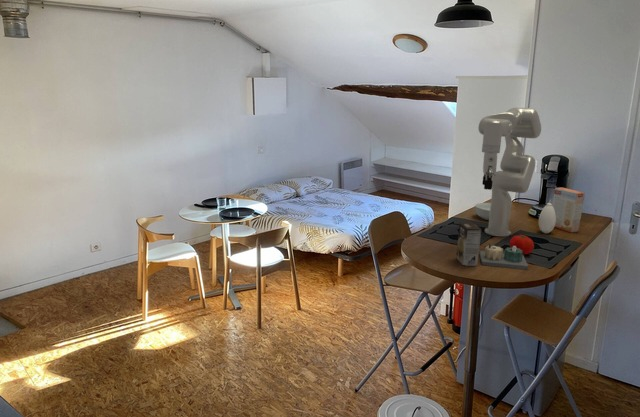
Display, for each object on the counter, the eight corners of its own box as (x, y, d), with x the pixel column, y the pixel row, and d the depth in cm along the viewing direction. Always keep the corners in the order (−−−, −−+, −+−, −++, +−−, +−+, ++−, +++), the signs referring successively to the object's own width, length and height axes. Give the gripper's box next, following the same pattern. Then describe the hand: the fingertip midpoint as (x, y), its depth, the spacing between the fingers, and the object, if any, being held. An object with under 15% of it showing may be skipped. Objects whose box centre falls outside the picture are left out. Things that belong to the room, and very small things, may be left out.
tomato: (512, 248, 229) (514, 230, 227) (535, 253, 223) (538, 235, 221) (505, 253, 222) (507, 235, 220) (529, 259, 216) (531, 240, 214)
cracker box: (579, 232, 257) (585, 192, 251) (570, 233, 254) (576, 193, 249) (557, 224, 269) (563, 186, 264) (549, 225, 267) (554, 187, 262)
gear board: (479, 253, 221) (481, 238, 219) (522, 257, 217) (524, 242, 215) (481, 264, 208) (483, 248, 206) (527, 269, 204) (529, 252, 202)
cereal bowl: (473, 221, 273) (474, 208, 271) (473, 213, 288) (474, 201, 286) (506, 224, 268) (507, 211, 266) (504, 216, 283) (506, 204, 281)
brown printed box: (455, 258, 215) (458, 222, 211) (470, 258, 216) (473, 222, 212) (462, 265, 207) (466, 228, 202) (477, 265, 207) (481, 228, 203)
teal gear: (520, 257, 214) (521, 248, 213) (523, 262, 207) (524, 253, 206) (503, 255, 215) (504, 246, 214) (505, 261, 209) (506, 252, 208)
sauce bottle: (537, 234, 251) (542, 199, 247) (536, 229, 259) (541, 196, 254) (554, 235, 249) (560, 201, 245) (552, 231, 256) (557, 197, 252)
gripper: (502, 152, 210) (497, 191, 214) (497, 146, 226) (493, 183, 230) (483, 151, 211) (479, 190, 216) (480, 146, 228) (476, 182, 232)
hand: (486, 187), depth 223 cm, fingers open, 9 cm apart
